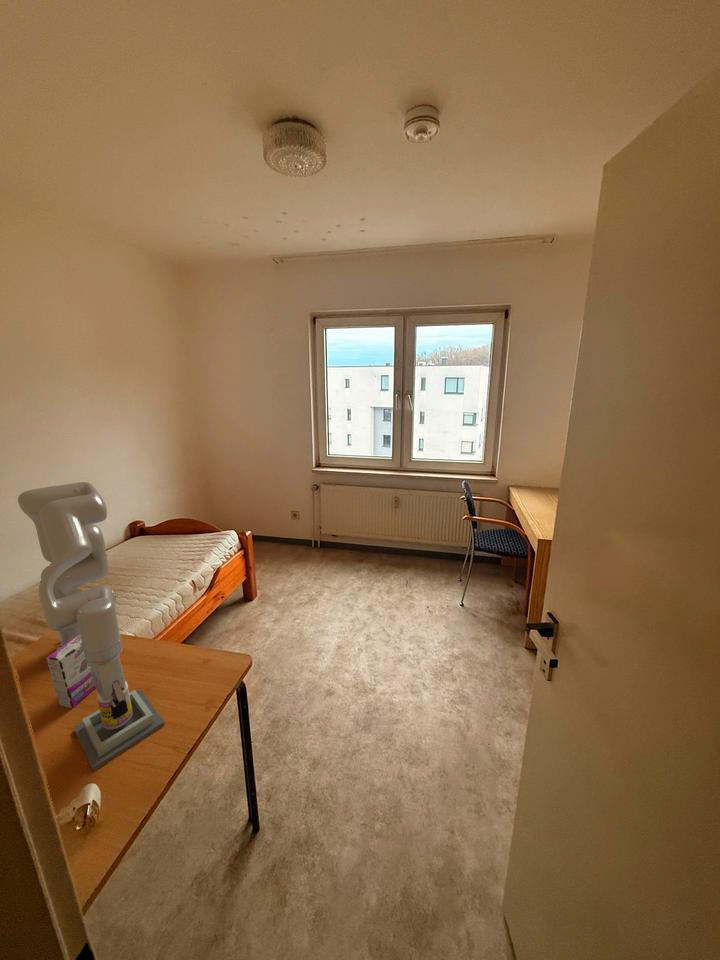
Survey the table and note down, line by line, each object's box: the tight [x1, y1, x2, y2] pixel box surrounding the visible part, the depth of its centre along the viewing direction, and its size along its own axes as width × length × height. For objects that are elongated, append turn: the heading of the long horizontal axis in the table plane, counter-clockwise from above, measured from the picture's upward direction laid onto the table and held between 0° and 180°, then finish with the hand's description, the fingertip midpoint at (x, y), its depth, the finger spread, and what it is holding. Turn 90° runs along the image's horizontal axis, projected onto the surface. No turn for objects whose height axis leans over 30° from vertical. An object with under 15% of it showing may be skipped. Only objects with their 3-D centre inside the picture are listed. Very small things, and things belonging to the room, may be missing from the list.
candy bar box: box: [45, 634, 96, 709], centre depth 106 cm, size 11×5×16 cm, turn 168°
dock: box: [73, 689, 165, 772], centre depth 96 cm, size 16×16×4 cm
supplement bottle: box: [96, 680, 132, 730], centre depth 95 cm, size 7×7×13 cm
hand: (115, 706), depth 95 cm, fingers closed on supplement bottle, 6 cm apart
